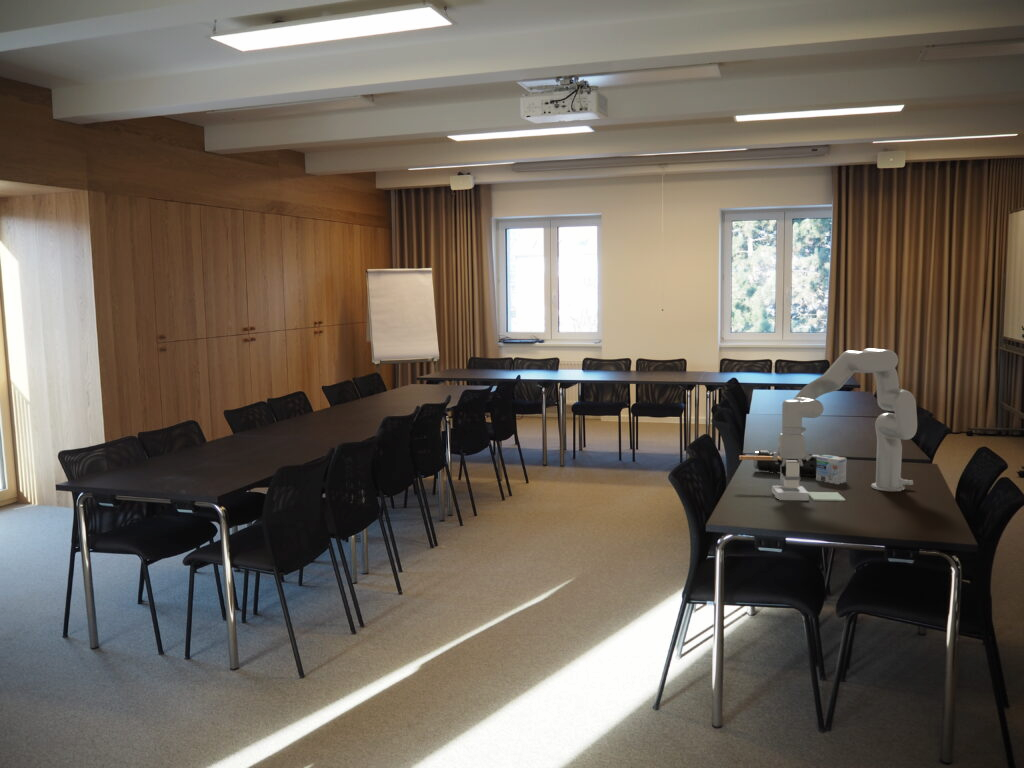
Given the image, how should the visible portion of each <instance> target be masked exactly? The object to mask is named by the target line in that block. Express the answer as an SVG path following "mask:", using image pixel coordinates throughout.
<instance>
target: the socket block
mask: <svg viewBox="0 0 1024 768" xmlns="http://www.w3.org/2000/svg"><path fill="white" fill-rule="evenodd" d="M779 473H780V474H779V475H780V478H779V485H771V494H772V493H773V494H774V495H775V496H774V495H773V494H772V495H773V496H774V497H775V499H776V498H777V499H779V500H778V501H810V496H809V493H808V492H809V491H807V489H806V488H805V487H804V486H803V485H799V488H786V487H785V485H784V478H783V474H782V473H781V470H780V472H779ZM777 499H776V500H777Z"/></svg>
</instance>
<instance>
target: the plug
mask: <svg viewBox="0 0 1024 768" xmlns="http://www.w3.org/2000/svg"><path fill="white" fill-rule="evenodd" d="M785 466H786V476H784V475H783V478H784V485H785V487H786V488H799V486H800V481H801V479H802V478H801V476H799V462H798V461H797V460H786V463H785Z"/></svg>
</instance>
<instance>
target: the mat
mask: <svg viewBox="0 0 1024 768" xmlns="http://www.w3.org/2000/svg"><path fill="white" fill-rule="evenodd" d="M807 492H808V493H809V498H811V499H812V500H813V501H816V502H818V501H820V502H821V501H822V502H828V501H830V502H846V498H844V496H842V495H841V494H840V493H839V492H837V491H835V492H834V491H832V492H831V491H807Z"/></svg>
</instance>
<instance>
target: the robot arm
mask: <svg viewBox="0 0 1024 768" xmlns="http://www.w3.org/2000/svg"><path fill="white" fill-rule="evenodd" d="M898 363H899V357H898V354H896V352H894V351H893V350H891V349H882V348H873V347H871V348H870V347H868V348H864V349H863V350H861V351H859V350H846V351H843V352H842V353H841V355H839V356H838V358H837V359H836V360H835V361H834V362H833V363H832V364H831V366H830V367H829V368H827V369H826V371H825V372H824V373H823V375H821V376H819V377H817V378H815V379H814V380H813V381H811V382H809V383H807V384H806V385H805V386H803V388H801V390H799V391H798V393H797V394H796V395H795V397H794V398H792V399H786V400H784V401H783V402H782V404H781V409H782V410H781V411H782V412H781V418H782V419H781V421H782V422H781V425H782V426H781V433H779V436H778V437H779V438H778V444H777V451H775V452H776V453H775V454H774V456H773V458H774V459H775V460H776V461H777V462H778V463H780V464H781V473H782V474H783V475H784V476H786V466H785V463H786V459H797V460H798V462H799V476H800V477H801V476H802V475H801V474H802V466H803V464H805V463H806V462H807V461H808V460H809V459H810V458H811V456H810V455H809V454H810V453H808V452H807V450H806V440H805V435H804V434H803V432H806V431H807V430H806V429H807V428H806V427H803V418H807V419H808V418H809V419H815V418H819V417H820V416H821V415H822V414H823V412H824V405H823V403H822V402H821V401H820V400H818V398H819V397H820V396H823V395H825V394H829V393H833V392H836V391H838V390H840V389H841V388H842V387H843V386H844V385H845V383H847V382H848V380H850V378H851V377H852V376H853V375H854V374H855V373H861V374H873V375H874V380H875V383H876V384H875V386H876V400H877V405H878V407H879V408H881V410H884V411H889V412H885V413H881V414H880V415H878V416H877V418H876V420H875V425H874V429H875V433H876V467H875V482H873V483H871V488H872V489H875V490H877V491H882V492H883V491H884V492H903V491H904V490H905V489H906V488H905V486H906V485H908V486H912V485H914V480H913V479H904V478H902V458H903V456H902V454H903V445H902V441H901V440H904V441H905V440H910V439H912V438H914V436H915V435H916V433H917V430H918V414H917V411H918V410H917V401H916V398H915V396H914V395H913V393H912V392H911V391H909V390H906V389H902V388H901V389H900V383H899V376H898V375H899V374H898V371H897V369H896V367H897V366H898ZM805 455H806V457H805ZM778 456H779V457H780V458H782V459H781V460H780V459H779V458H778ZM803 458H804V459H803ZM802 459H803V460H802ZM902 490H903V491H902Z"/></svg>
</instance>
